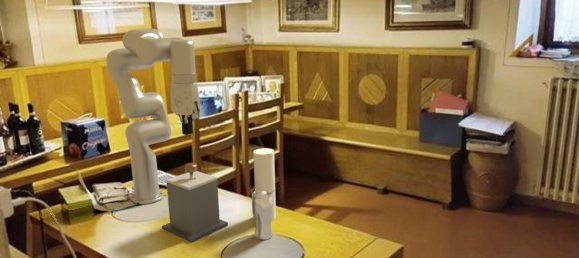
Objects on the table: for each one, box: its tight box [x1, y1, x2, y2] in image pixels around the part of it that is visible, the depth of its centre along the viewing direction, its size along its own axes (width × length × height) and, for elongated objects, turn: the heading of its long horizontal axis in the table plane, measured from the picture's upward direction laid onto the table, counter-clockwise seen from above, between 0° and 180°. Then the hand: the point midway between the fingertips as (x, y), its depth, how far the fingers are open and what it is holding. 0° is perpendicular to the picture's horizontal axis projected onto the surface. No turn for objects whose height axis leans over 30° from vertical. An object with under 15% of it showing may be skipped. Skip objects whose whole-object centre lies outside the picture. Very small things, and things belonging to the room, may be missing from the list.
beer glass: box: [251, 190, 273, 241], centre depth 157 cm, size 7×7×15 cm
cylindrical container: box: [253, 147, 277, 221], centre depth 169 cm, size 7×7×25 cm
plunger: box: [184, 162, 198, 180], centre depth 162 cm, size 9×9×17 cm
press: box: [161, 170, 229, 244], centre depth 164 cm, size 16×17×18 cm
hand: (187, 133), depth 157 cm, fingers closed
